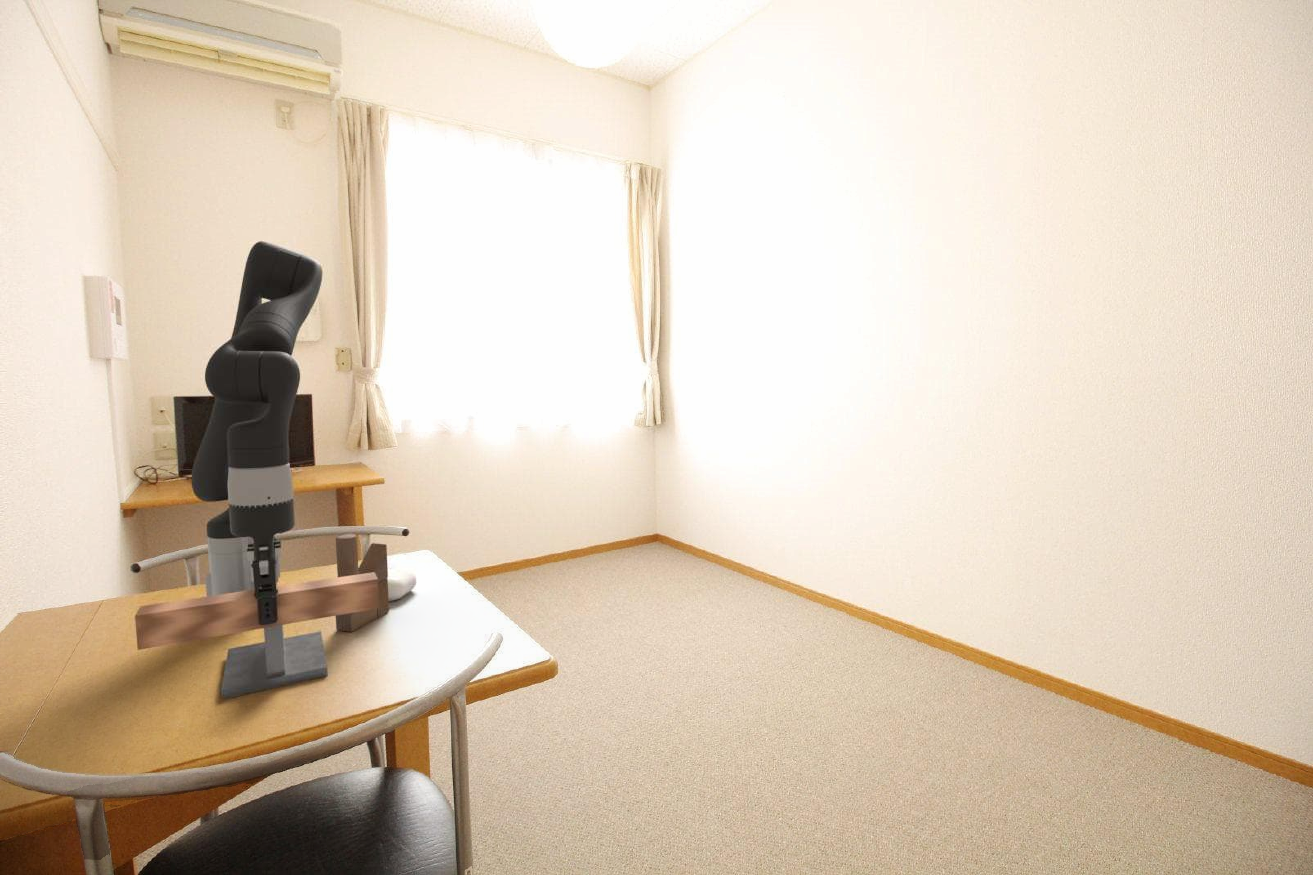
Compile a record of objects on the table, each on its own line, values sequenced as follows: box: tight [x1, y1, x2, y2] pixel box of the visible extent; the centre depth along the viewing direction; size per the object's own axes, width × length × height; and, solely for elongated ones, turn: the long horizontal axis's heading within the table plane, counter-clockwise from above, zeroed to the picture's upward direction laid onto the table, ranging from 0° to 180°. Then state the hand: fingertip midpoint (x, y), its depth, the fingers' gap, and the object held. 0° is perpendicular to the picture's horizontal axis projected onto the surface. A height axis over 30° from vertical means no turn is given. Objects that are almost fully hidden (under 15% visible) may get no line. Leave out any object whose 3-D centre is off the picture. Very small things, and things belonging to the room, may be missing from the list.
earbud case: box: [387, 568, 417, 602], centre depth 135 cm, size 10×13×5 cm
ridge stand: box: [220, 625, 329, 700], centre depth 102 cm, size 16×14×10 cm
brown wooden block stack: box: [335, 533, 390, 633], centre depth 120 cm, size 4×11×18 cm, turn 165°
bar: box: [134, 572, 379, 651], centre depth 86 cm, size 28×4×4 cm, turn 121°
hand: (268, 617), depth 87 cm, fingers closed on bar, 3 cm apart
